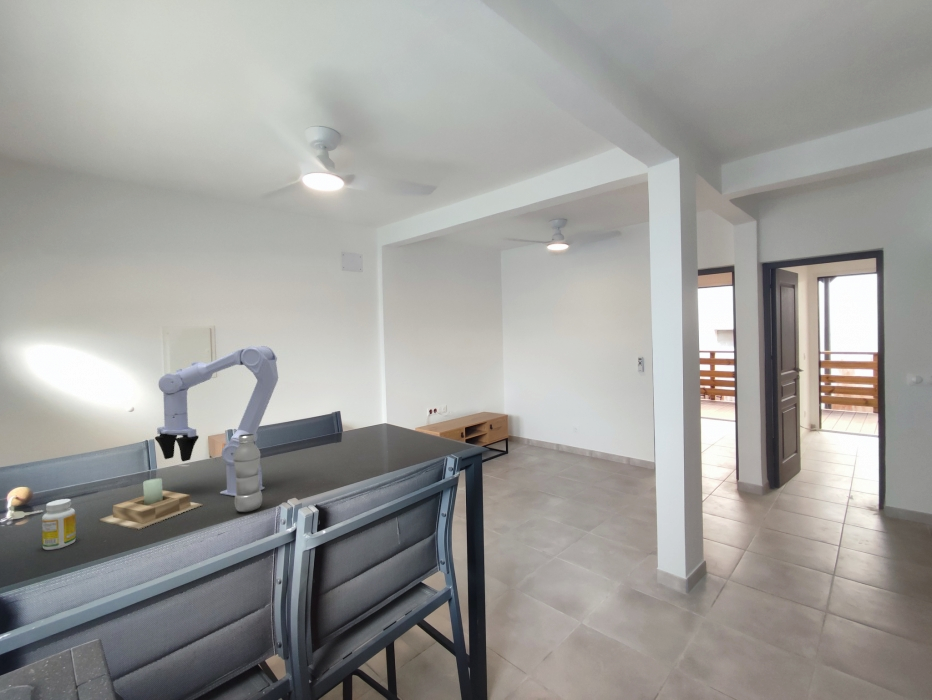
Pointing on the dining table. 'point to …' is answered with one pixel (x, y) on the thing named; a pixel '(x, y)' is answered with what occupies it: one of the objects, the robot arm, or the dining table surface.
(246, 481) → the plastic bottle
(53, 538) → the supplement bottle
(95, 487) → the dining table surface
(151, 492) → the dowel
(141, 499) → the socket block
